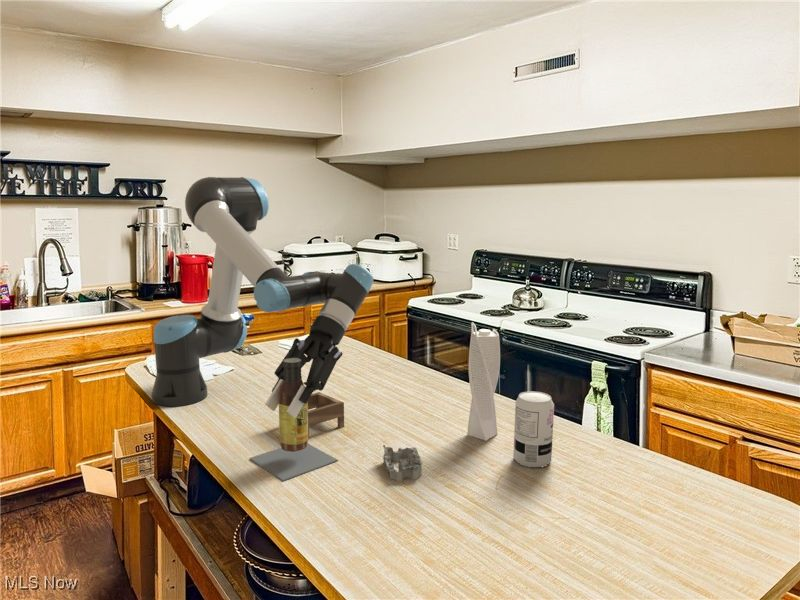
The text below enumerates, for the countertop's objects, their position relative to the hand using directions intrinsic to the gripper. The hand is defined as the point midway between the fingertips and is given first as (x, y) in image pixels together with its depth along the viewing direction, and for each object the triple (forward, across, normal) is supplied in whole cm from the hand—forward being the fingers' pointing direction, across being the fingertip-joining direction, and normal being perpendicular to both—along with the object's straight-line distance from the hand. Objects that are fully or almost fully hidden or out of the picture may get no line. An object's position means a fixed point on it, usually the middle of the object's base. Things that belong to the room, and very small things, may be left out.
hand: (280, 411), depth 127 cm
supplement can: (-16, -42, -34) cm, 57 cm away
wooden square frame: (-5, +11, -23) cm, 26 cm away
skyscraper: (-20, -26, -39) cm, 51 cm away
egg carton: (-1, -22, -20) cm, 29 cm away
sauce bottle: (+4, 0, -9) cm, 10 cm away
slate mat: (+6, 0, -11) cm, 13 cm away
